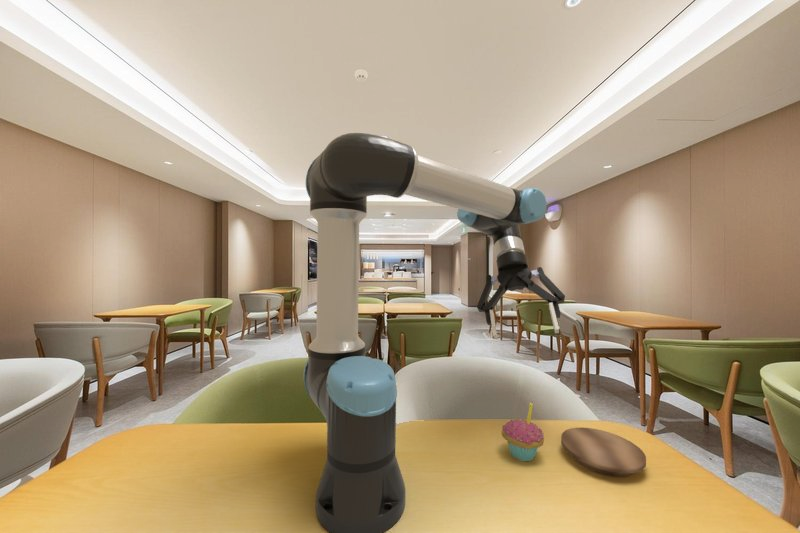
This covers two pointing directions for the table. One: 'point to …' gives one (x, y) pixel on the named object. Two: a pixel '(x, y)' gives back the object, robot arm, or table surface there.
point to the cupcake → (523, 437)
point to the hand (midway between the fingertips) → (525, 334)
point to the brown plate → (603, 452)
